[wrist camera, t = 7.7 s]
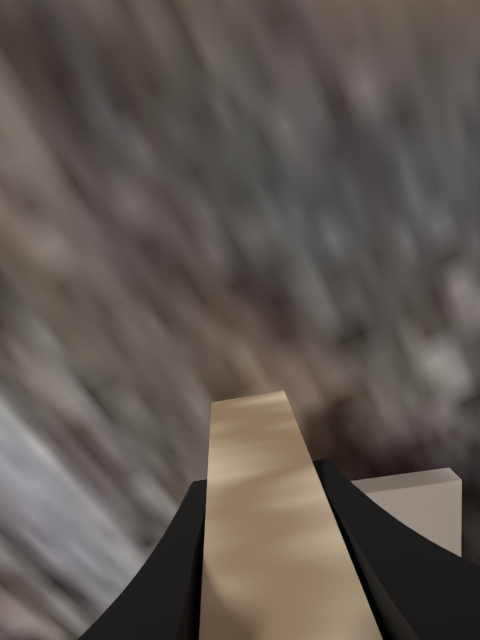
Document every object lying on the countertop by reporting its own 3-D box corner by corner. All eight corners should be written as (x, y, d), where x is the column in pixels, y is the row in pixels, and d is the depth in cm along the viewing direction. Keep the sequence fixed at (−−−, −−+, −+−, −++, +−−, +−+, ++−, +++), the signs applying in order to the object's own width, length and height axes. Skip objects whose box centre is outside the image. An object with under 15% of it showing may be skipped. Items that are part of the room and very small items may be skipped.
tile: (461, 480, 23) (460, 588, 24) (444, 462, 24) (444, 565, 26) (330, 498, 22) (339, 606, 24) (322, 479, 24) (331, 581, 26)
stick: (284, 390, 15) (393, 664, 6) (293, 454, 16) (403, 796, 6) (211, 402, 15) (195, 700, 6) (223, 466, 16) (229, 829, 6)
